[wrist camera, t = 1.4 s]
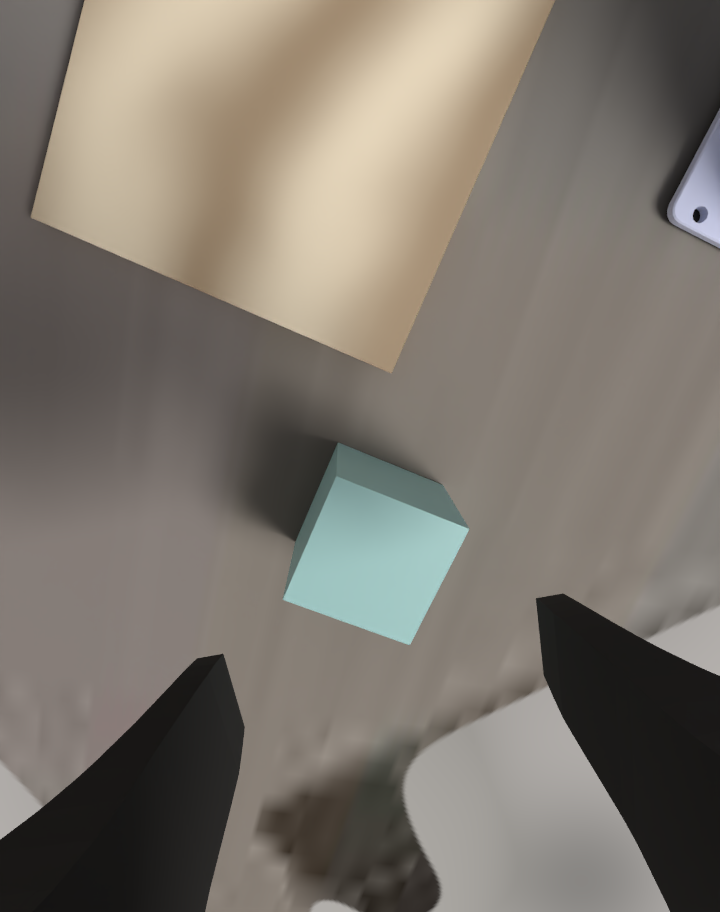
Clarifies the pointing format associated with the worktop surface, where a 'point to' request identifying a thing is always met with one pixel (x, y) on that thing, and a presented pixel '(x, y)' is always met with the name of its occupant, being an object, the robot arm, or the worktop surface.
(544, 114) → the worktop surface
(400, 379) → the worktop surface
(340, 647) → the worktop surface
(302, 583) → the teal cube
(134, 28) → the birch board
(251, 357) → the worktop surface
